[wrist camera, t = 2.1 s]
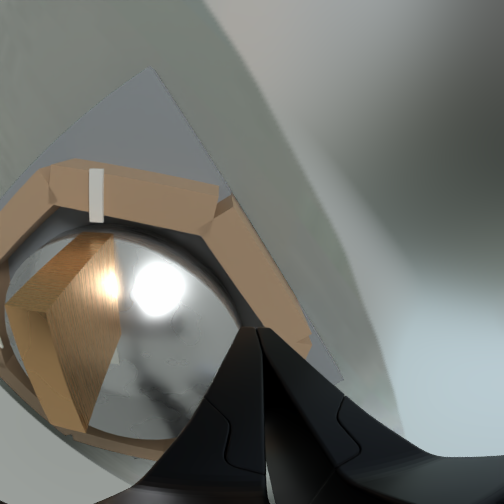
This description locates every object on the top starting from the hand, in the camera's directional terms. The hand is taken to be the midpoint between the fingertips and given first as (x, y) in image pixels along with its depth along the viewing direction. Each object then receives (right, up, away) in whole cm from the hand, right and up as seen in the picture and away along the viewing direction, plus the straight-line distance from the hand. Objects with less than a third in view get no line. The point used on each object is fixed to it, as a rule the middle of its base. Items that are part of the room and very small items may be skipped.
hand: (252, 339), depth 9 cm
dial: (-6, -2, +5) cm, 8 cm away
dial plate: (-6, -1, +6) cm, 9 cm away
